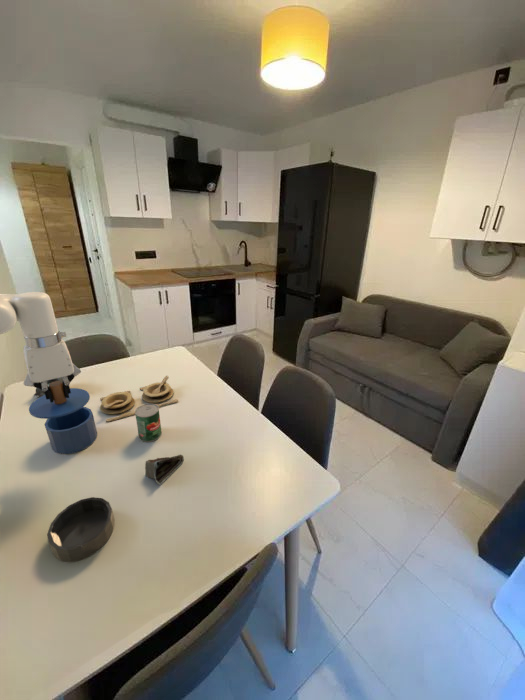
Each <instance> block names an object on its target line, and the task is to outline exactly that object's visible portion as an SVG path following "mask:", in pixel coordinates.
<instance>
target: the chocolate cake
mask: <svg viewBox="0 0 525 700" xmlns="http://www.w3.org/2000/svg"><path fill="white" fill-rule="evenodd" d="M184 460H185V459H184V455H183V454H177V455H174V456H170V457H169V456H165V457H156V458H154V459H147V460H146V461H145V463H144V464H145V465H144V471H145V477H147V478H150V479H154V480H155V482H156V484H157V485H159V486H160V485H163V484H164V483H165V481H167V480H168V479H169V478H170V477H171V476H172V474H174V473H175V472H176V470H178V468H180V467H181V466H182V465H183V463H184Z"/></svg>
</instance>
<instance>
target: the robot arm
mask: <svg viewBox="0 0 525 700" xmlns="http://www.w3.org/2000/svg"><path fill="white" fill-rule="evenodd" d="M53 307H54V306H53V304H52V300H51V297H50V295H49V294H47V293H45V292H42V291H27V292H21V293H0V335H4V334H7V333H8V332H10V331H11V330H13V329H14V328H15V326H16V324H17V322H18V323H19V326H20V329H21V333H22V336H23V339H24V343H25V345H23V357H24V362H25V366H26V370H27V373H26V375H25V378H24V381H23V386H25V387H34V388H35V389H36V388H38V389H41V390H42V391H44V393H45V396H46V399H50V402H51V403H52V402H54V401H53V398H52V394H51V391H50V388H49V387H48V385H47V380H52V379H56V378H60V377H62V379H63V388H64V391H65V395H66V398H69V394H70V393H71V391H70V385H71V383H72V382H73V380H74V379H75V377H77V376H79V374H81V373H82V371H81V369H80V368H79V367H78V366H77V365H76V364H75V363H73V361H72V356H71V354H70V351H69V348H68V345H67V344H66V341H65V340H64V339H63V338H66V337H67V333H66V331H61V330H59V328H58V323H57V319H56V315H55V311H54V308H53Z"/></svg>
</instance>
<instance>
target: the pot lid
mask: <svg viewBox="0 0 525 700" xmlns="http://www.w3.org/2000/svg"><path fill="white" fill-rule="evenodd" d="M49 388H50V391H51V394H52V398H53V401H54V402H52V403H51V402H50V399H46V396H45V395H43V396H41V397H40V396H38V398H36V399H34V400H33V401H32V402H31V404H30V405H29V407H28V412H29V414H30V416H32V417H34V418H37V419H42V420H47V419H49V418H57V417H61V416H65V415H68V414H71V413H73V412H75V411H77V410H79V409H81V408H82V407H86V405H87V404H88V403H89V401H90V398H91V396H90V392H88V391H87V390H85V389H82V388H77V387H71V388H70V391H71V393H70V394H69V398H66V395H65V391H64V388H63V383H62V382H61V381H55V382H52V383H50V384H49Z"/></svg>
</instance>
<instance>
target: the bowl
mask: <svg viewBox="0 0 525 700" xmlns="http://www.w3.org/2000/svg"><path fill="white" fill-rule="evenodd" d="M114 528H115V516H114V511H113V508H112V506H111V504H110V502H109V501H108V500H106V499H104V498H103V497H94V496H91V497H87V498H82V499H80V500H78V501H75V502H73V503H71V504H69V505H68V506H66V507H65V508H64V509H63V510H61V511H60V512H59V513H58V514H57V515H56V516H55V518H54V519H53V520H52V521H51V522H50V525H49V528H48V531H47V534H46V537H47V541H48V545H49V548H50V550H51V552H52V555H54V557H55V558H56V559H57V560H59V561H60V562H66V563H75V562H78V561H81V560H84V559H86V558H89V557H90V556H92V555H94V554H95V553H97V552H98V551H99V550H101V548H103V547H104V545H105V544H107V542H108V541H109V539H110V538H111V536H112V534H113V532H114V530H115V529H114Z"/></svg>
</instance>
